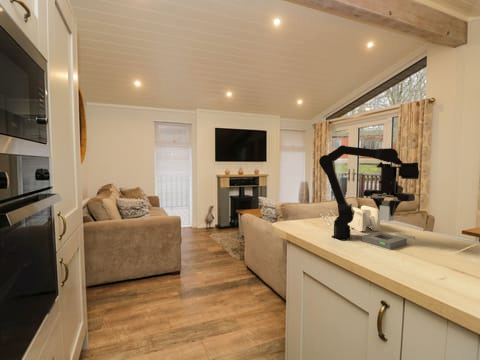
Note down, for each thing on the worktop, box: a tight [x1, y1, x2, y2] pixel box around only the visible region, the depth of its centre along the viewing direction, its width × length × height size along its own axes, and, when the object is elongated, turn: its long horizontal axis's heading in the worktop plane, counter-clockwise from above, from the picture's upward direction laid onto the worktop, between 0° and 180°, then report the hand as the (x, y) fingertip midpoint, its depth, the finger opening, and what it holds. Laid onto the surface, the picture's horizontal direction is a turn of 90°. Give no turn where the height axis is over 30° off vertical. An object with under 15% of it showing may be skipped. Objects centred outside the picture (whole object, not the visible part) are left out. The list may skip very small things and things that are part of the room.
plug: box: [379, 199, 395, 222], centre depth 108 cm, size 4×4×8 cm
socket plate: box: [361, 231, 408, 251], centre depth 108 cm, size 12×12×3 cm
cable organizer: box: [348, 205, 381, 232], centre depth 131 cm, size 15×11×12 cm
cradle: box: [393, 231, 416, 242], centre depth 115 cm, size 8×8×2 cm
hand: (386, 215), depth 108 cm, fingers closed on plug, 4 cm apart
